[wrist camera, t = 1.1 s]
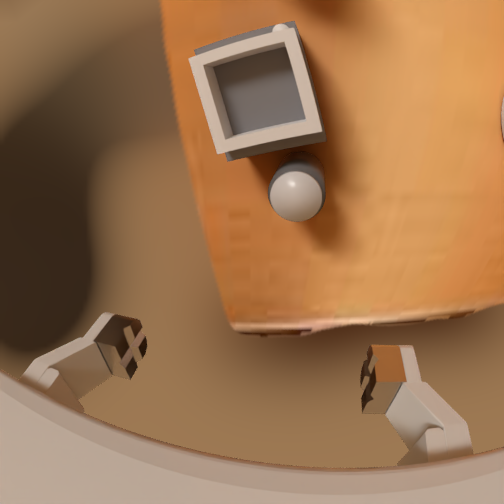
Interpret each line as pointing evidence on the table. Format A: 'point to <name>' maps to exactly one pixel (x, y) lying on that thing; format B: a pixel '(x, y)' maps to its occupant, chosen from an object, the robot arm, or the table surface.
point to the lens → (298, 187)
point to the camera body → (258, 92)
